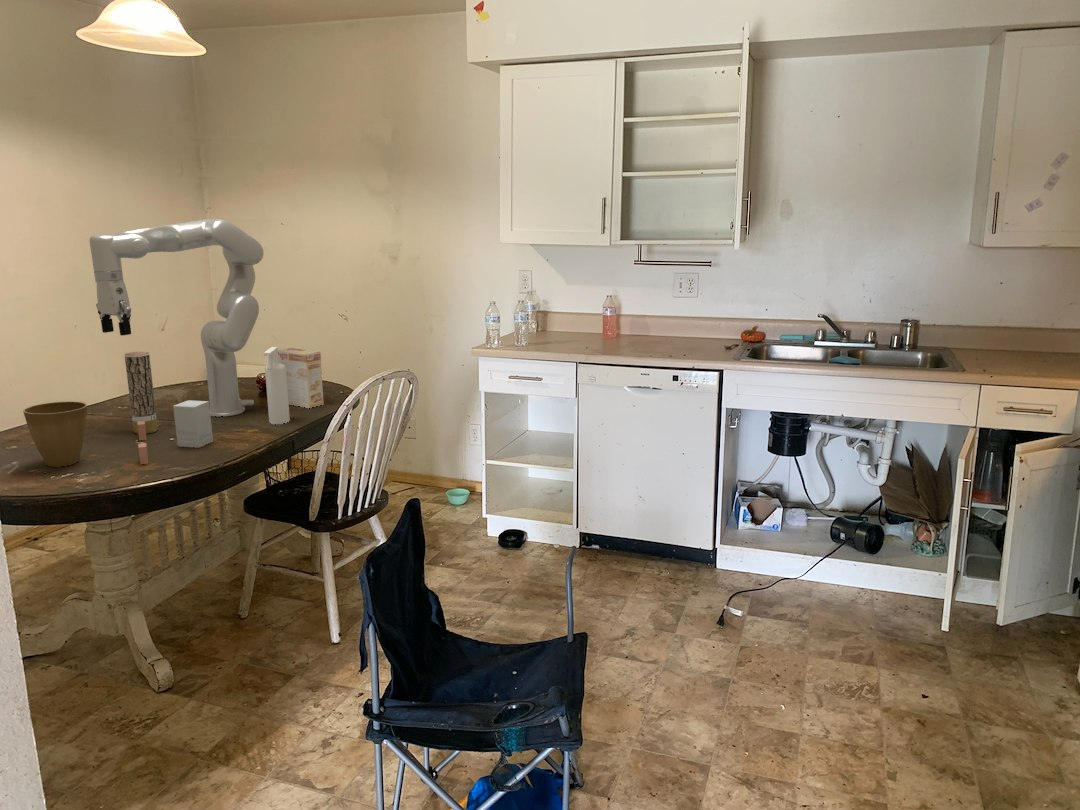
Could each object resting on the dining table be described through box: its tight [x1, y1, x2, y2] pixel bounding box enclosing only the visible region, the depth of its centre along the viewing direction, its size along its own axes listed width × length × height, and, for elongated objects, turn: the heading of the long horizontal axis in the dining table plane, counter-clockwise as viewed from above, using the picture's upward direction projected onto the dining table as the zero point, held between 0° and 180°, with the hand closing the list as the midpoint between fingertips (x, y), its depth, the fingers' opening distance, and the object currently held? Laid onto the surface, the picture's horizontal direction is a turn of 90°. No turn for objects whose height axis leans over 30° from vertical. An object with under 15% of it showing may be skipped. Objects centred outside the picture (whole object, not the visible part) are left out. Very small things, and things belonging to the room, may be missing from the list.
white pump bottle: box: [263, 346, 291, 425], centre depth 263 cm, size 7×12×25 cm, turn 175°
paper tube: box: [124, 351, 159, 435], centre depth 250 cm, size 7×7×25 cm
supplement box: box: [172, 399, 214, 449], centre depth 238 cm, size 7×7×13 cm
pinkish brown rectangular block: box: [137, 421, 149, 466], centre depth 233 cm, size 2×30×5 cm, turn 27°
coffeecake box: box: [277, 347, 325, 409], centre depth 286 cm, size 15×7×20 cm, turn 58°
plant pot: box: [22, 401, 88, 468], centre depth 220 cm, size 15×15×16 cm
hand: (116, 333), depth 245 cm, fingers open, 9 cm apart
